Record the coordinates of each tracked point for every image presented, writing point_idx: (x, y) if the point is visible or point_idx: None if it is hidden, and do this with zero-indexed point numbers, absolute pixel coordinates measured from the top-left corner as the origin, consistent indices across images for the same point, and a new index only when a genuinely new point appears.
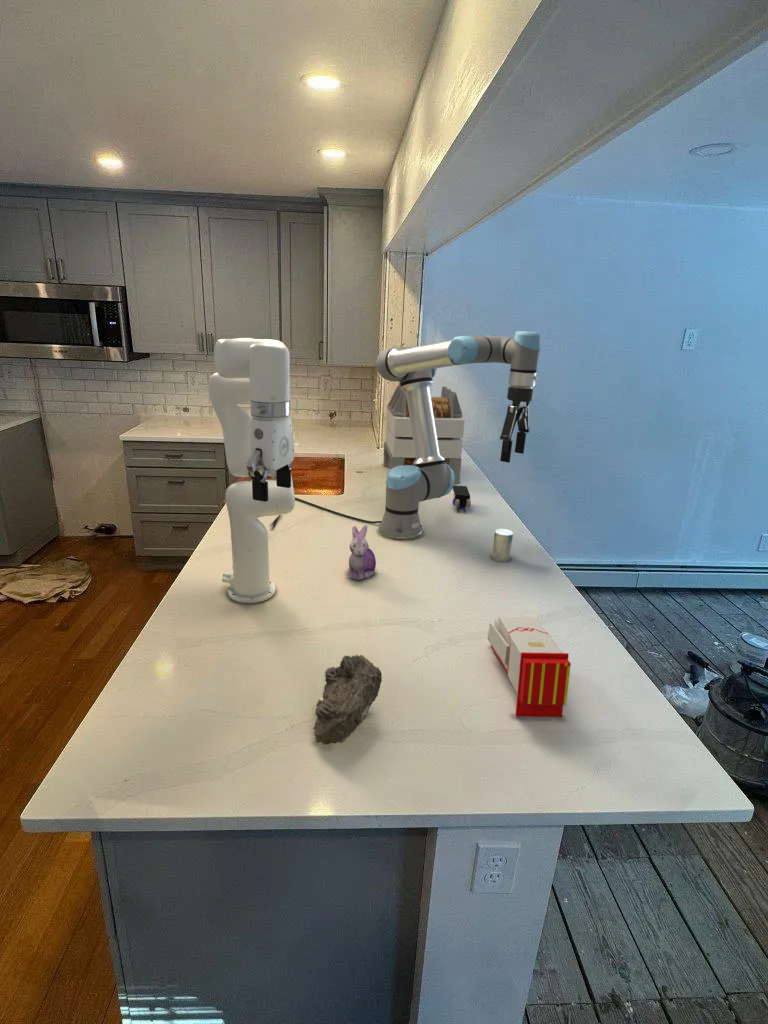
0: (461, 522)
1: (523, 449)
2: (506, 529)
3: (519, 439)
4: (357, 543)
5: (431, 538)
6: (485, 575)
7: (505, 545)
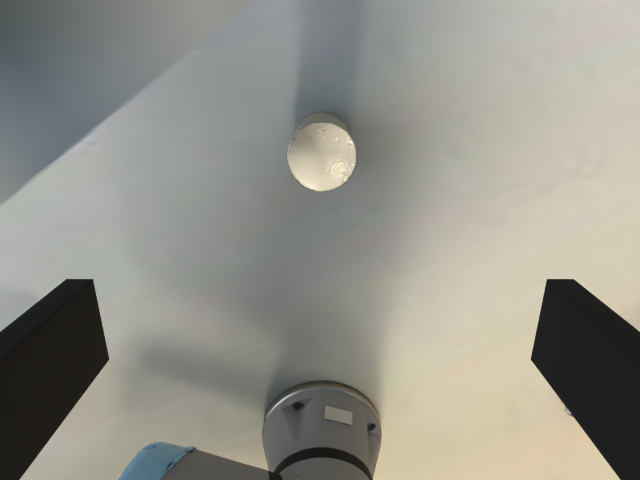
0: (134, 337)
1: (65, 303)
2: (289, 158)
3: (5, 446)
4: None
5: (309, 354)
6: (474, 136)
7: (348, 131)
